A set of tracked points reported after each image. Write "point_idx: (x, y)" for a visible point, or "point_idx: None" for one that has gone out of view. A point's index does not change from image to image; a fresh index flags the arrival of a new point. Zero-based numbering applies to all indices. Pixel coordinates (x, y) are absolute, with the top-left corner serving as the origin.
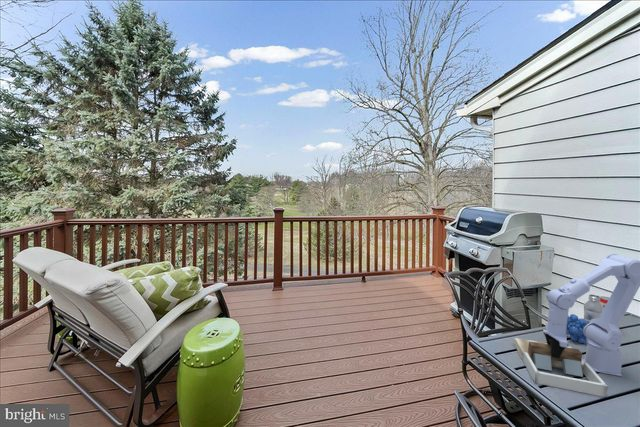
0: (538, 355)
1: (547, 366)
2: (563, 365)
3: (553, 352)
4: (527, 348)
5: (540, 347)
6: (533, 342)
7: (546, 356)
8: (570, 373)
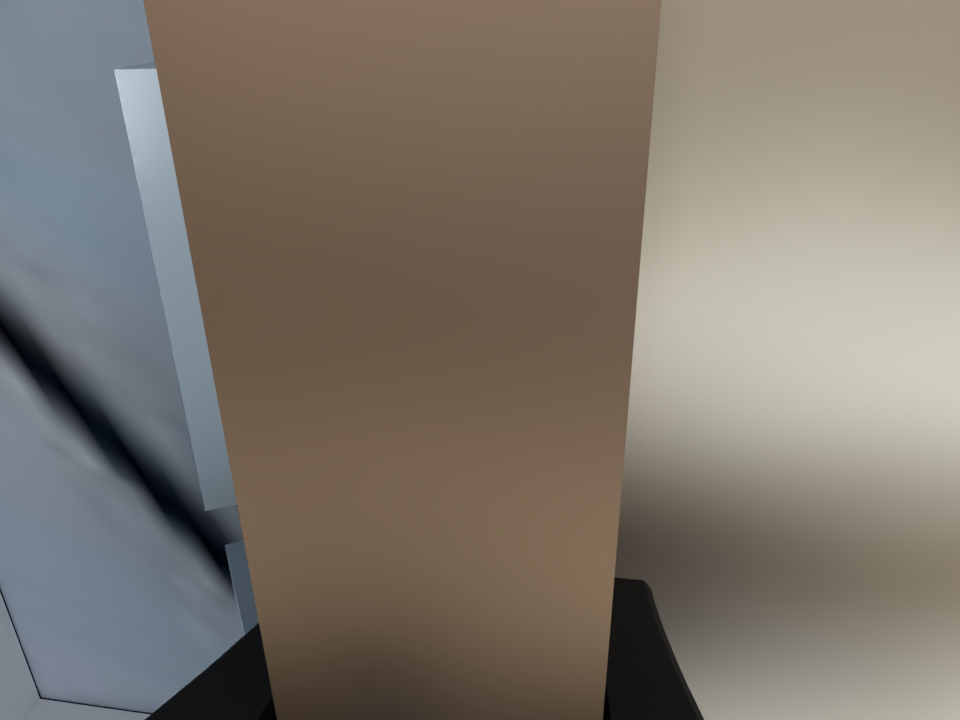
0: (146, 181)
1: None
2: None
3: (246, 664)
4: (885, 33)
5: (244, 378)
6: (564, 187)
7: (191, 401)
8: (236, 603)
